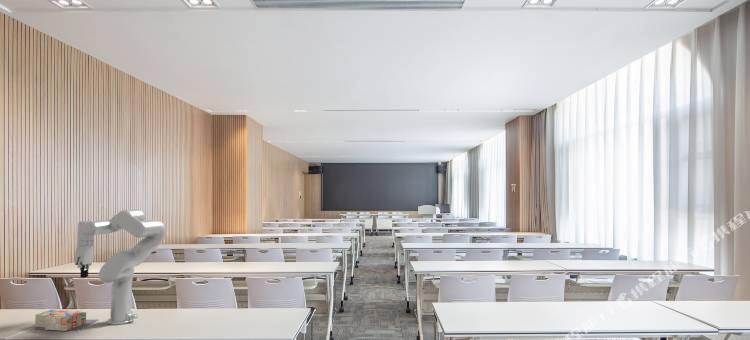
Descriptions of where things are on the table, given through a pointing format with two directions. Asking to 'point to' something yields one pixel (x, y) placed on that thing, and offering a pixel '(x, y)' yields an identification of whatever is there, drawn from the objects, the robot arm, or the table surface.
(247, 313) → the table surface
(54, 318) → the stack of blocks
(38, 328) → the mat
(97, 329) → the table surface
